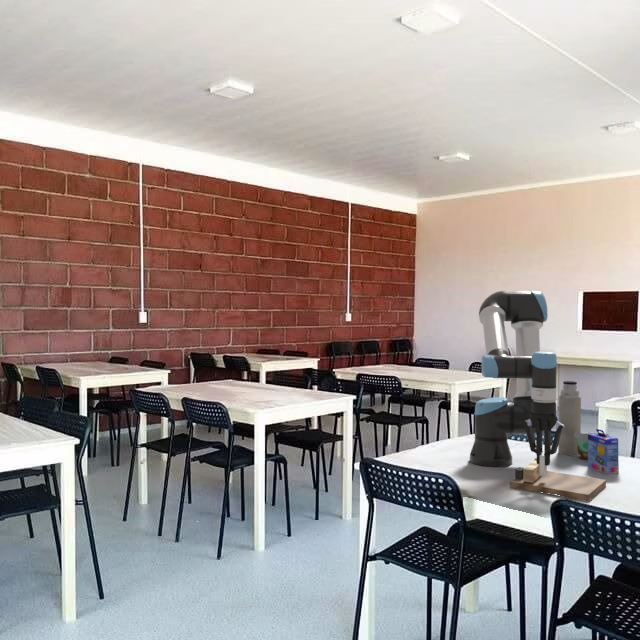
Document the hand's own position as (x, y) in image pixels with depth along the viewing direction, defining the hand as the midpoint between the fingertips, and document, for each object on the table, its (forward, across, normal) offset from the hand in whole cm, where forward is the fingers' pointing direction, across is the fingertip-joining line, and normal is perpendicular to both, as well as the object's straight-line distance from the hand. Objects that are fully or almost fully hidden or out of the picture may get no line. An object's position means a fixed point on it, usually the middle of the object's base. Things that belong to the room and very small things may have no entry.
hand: (543, 475), depth 210 cm
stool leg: (+2, -4, +4) cm, 6 cm away
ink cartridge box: (+4, +10, +34) cm, 36 cm away
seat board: (+4, +3, +4) cm, 7 cm away
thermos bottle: (+4, -7, +54) cm, 54 cm away
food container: (+4, +3, +47) cm, 48 cm away
